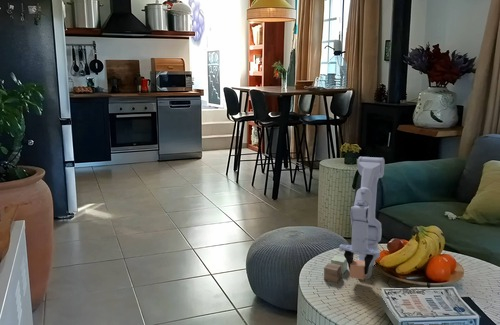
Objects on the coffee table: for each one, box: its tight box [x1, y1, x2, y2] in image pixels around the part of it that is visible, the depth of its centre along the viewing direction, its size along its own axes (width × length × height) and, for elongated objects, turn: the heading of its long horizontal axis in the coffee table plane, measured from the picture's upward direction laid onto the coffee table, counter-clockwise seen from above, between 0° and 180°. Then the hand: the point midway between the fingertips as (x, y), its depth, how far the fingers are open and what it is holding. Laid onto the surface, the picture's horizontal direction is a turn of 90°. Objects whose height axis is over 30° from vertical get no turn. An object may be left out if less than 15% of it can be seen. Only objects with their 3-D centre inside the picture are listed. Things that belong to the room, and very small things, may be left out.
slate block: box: [361, 260, 373, 280], centre depth 175 cm, size 5×5×5 cm
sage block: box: [330, 254, 348, 275], centre depth 180 cm, size 5×5×5 cm
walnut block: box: [323, 262, 342, 283], centre depth 173 cm, size 5×5×5 cm
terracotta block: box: [349, 258, 367, 280], centre depth 168 cm, size 5×5×5 cm
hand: (358, 271), depth 168 cm, fingers closed on terracotta block, 5 cm apart
